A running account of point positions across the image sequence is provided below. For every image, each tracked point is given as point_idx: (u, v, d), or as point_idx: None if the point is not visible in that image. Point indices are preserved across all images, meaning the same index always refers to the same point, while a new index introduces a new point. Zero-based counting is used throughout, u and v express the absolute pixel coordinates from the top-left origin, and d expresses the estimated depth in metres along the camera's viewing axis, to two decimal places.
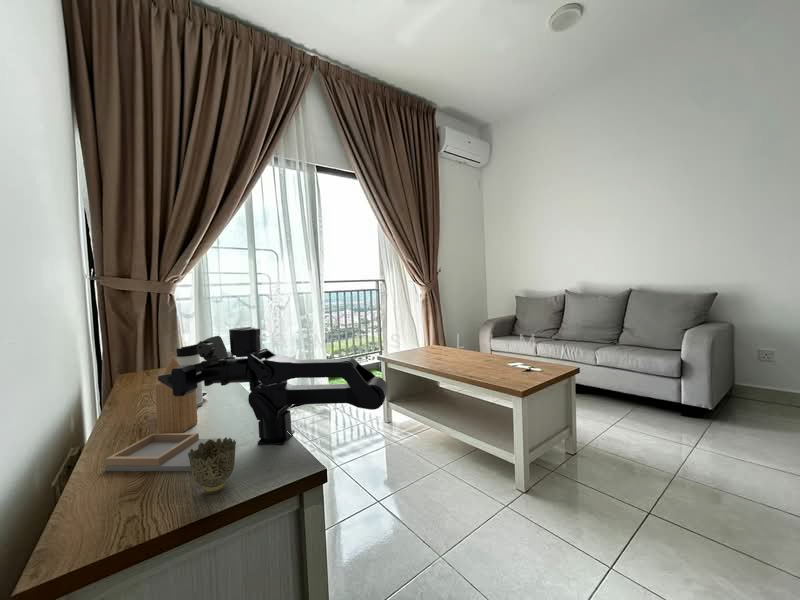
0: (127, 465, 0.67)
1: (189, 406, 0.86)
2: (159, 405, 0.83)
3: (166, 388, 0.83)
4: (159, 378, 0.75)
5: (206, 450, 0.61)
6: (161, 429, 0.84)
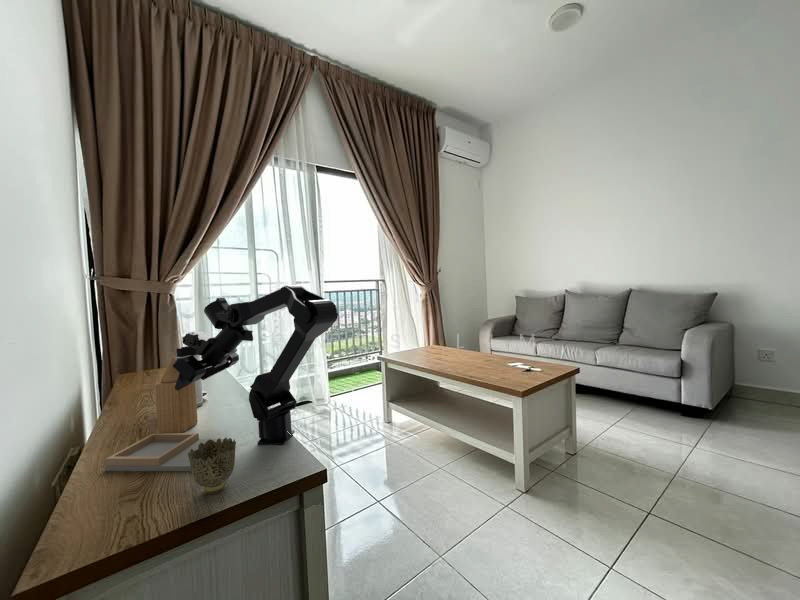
0: (127, 465, 0.67)
1: (189, 406, 0.86)
2: (159, 405, 0.83)
3: (166, 388, 0.83)
4: (176, 388, 0.81)
5: (207, 450, 0.61)
6: (161, 429, 0.84)
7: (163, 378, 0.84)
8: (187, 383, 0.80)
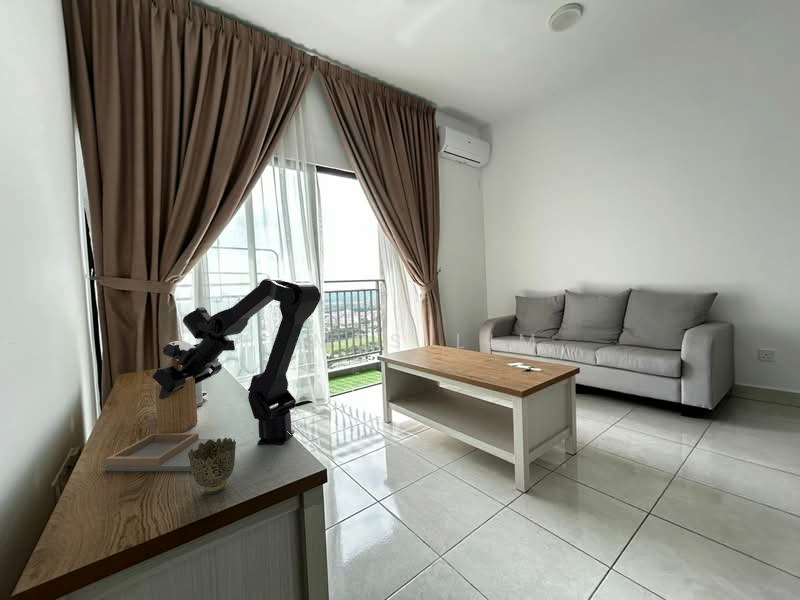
0: (127, 465, 0.67)
1: (189, 406, 0.86)
2: (159, 405, 0.83)
3: None
4: (160, 396, 0.83)
5: (206, 450, 0.61)
6: (161, 429, 0.84)
7: None
8: (171, 392, 0.81)
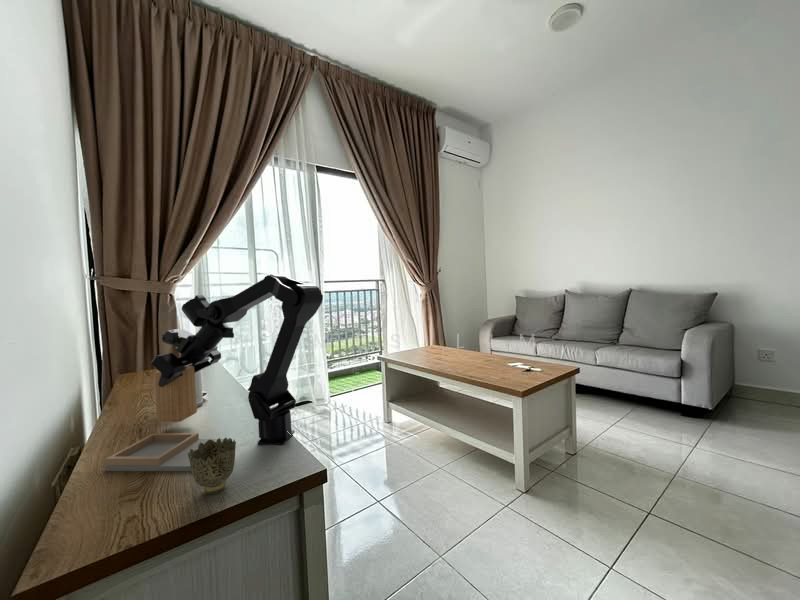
0: (127, 465, 0.67)
1: (188, 394, 0.86)
2: (159, 393, 0.83)
3: None
4: (160, 384, 0.83)
5: (207, 450, 0.61)
6: (160, 417, 0.83)
7: None
8: (170, 379, 0.81)
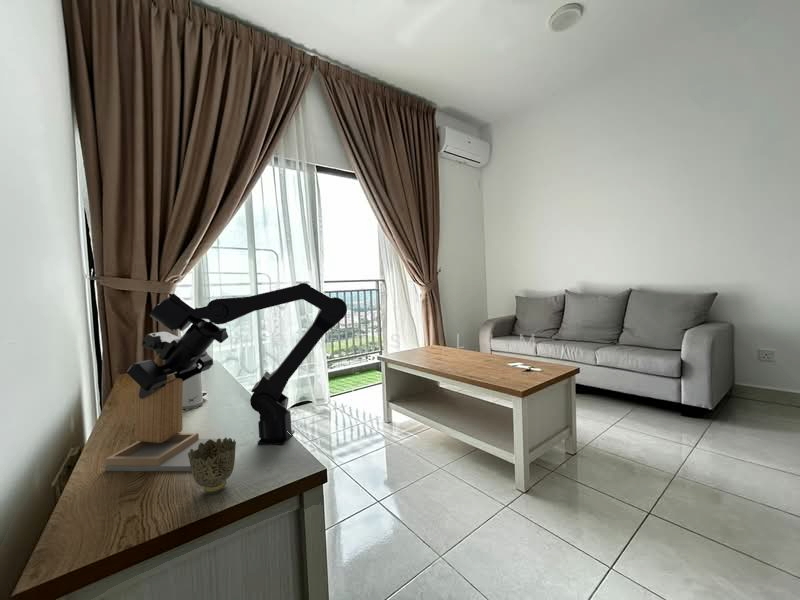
0: (127, 465, 0.67)
1: (172, 412, 0.75)
2: (139, 409, 0.72)
3: None
4: (140, 396, 0.72)
5: (207, 450, 0.61)
6: (139, 435, 0.73)
7: None
8: (151, 390, 0.70)
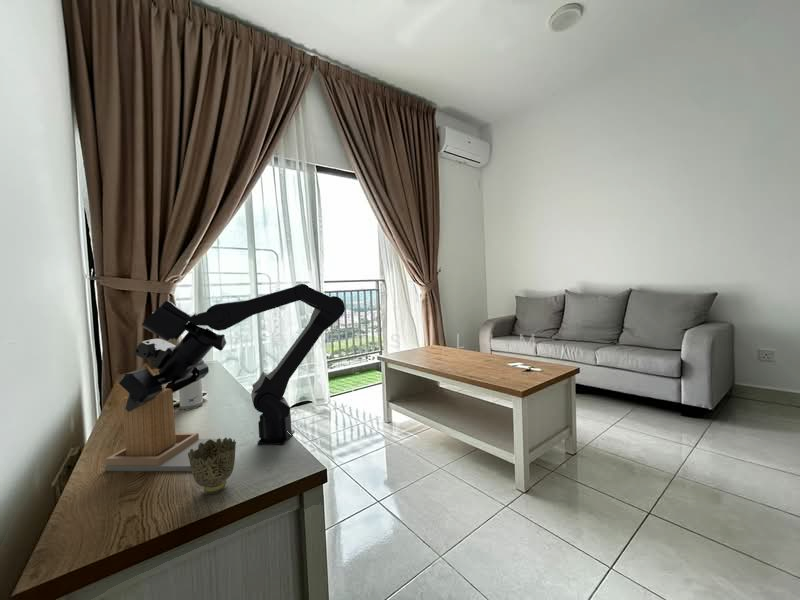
0: (127, 465, 0.67)
1: (164, 423, 0.72)
2: (128, 424, 0.69)
3: None
4: (127, 408, 0.67)
5: (206, 450, 0.61)
6: (130, 452, 0.69)
7: None
8: (139, 403, 0.66)
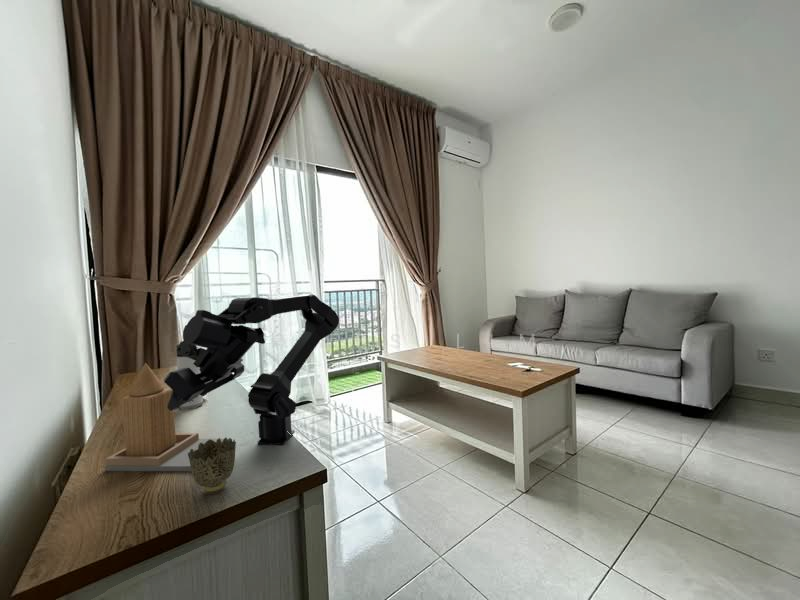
0: (127, 465, 0.67)
1: (164, 424, 0.72)
2: (128, 424, 0.69)
3: (135, 403, 0.69)
4: (169, 407, 0.67)
5: (206, 450, 0.61)
6: (130, 452, 0.69)
7: (132, 391, 0.70)
8: (182, 402, 0.65)
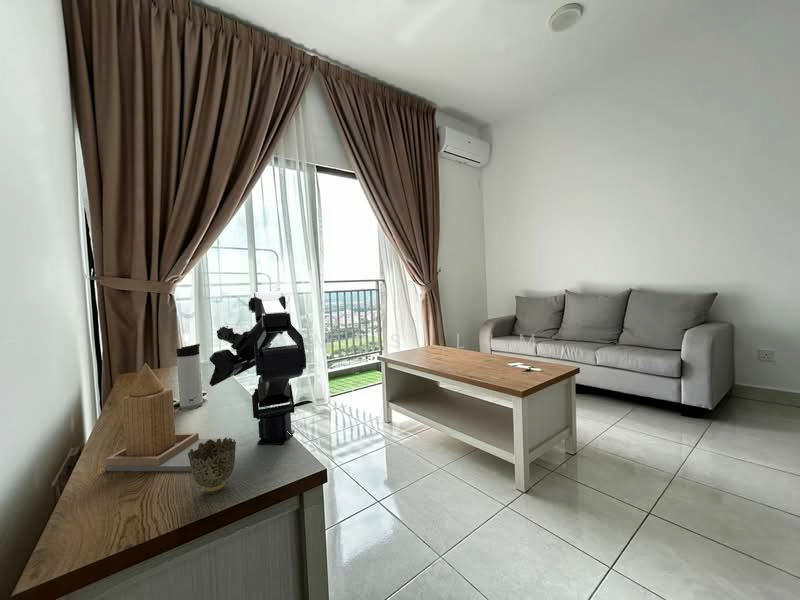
0: (127, 465, 0.67)
1: (164, 424, 0.72)
2: (128, 424, 0.69)
3: (135, 403, 0.69)
4: (211, 383, 0.78)
5: (206, 450, 0.61)
6: (130, 452, 0.69)
7: (132, 391, 0.70)
8: (223, 378, 0.77)
